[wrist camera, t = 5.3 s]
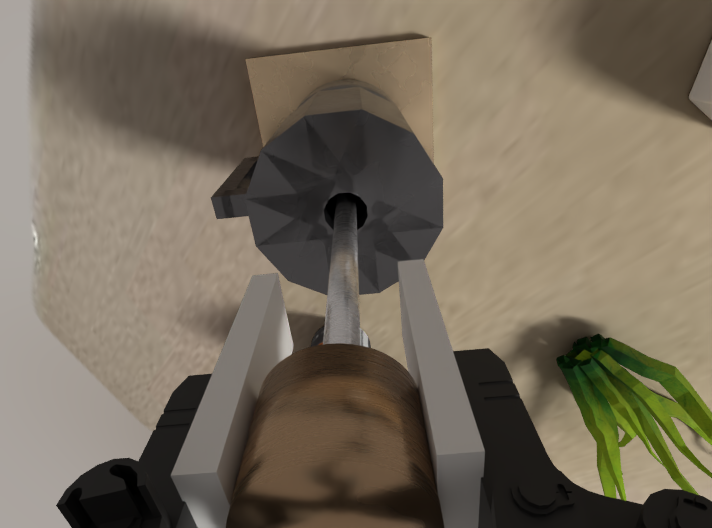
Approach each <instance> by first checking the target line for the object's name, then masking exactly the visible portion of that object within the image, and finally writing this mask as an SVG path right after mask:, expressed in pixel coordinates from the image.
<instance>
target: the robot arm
mask: <svg viewBox="0 0 712 528" xmlns="http://www.w3.org/2000/svg"><path fill="white" fill-rule="evenodd" d="M398 275H399V291H400V306H401V321H402V336H403V342H404V348H405V354H406V360H407V366H408V371H409V373H410V375H411V376H412V377H413V379H414V381H415V383H416V385H417V387H418V392H419V397H420V403H421V408H422V413H423V419H424V424H425V429H426V435H427V440H428V445H429V451H430V456H431V461H432V467H433V472H434V477H435V483H436V488H437V493H438V497H439V500H440V505H441V511H442V516H443V521H444V528H712V501H710V500H708V499H707V498H705V497H703V496H700V495H697V494H694V493H691V492H688V491H685V490H673V489H663V490H661V491H658V492H655V493H653V494H650V496H649V497H648V499H647V500H646V501H645V503H644V504H643V505H642V504H638V503H634V502H629V501H625V500H620V499H616V498H611V497H607V496H603V495H599V494H596V493H593V492H590V491H587V490H585V489H584V488H582V487H580V486H578V485H576V484H574V483H573V482H571V481H570V480H569V479H568V478H567V477H566V476H565V475H564V474H563V473H562V472H561V471H559V470H558V469H557V468H556V467H555V466H554V465H553V463H552V462H551V460H550V458H549V457H548V455H547V453H546V451H545V448H544V446H543V444H542V442H541V440H540V438H539V436H538V433H537V431H536V429H535V427H534V425H533V423H532V421H531V418H530V416H529V414H528V412H527V410H526V408H525V406H524V403H523V401H522V399H520V396H519V393H518V391H517V388H516V386H515V384H513V380H512V378H511V376H510V373H509V371H508V369H507V367H506V365H505V363H504V362H503V361H502V360H501V359H500V358H499V357H498V356H497V355H495V354H494V353H493V352H492V351H491V350H490V349H489V348H487V349H475V350H464V351H453V350H452V347H451V344H450V340H449V337H448V334H447V331H446V328H445V325H444V322H443V319H442V315H441V312H440V309H439V306H438V303H437V300H436V297H435V294H434V290H433V287H432V284H431V281H430V278H429V275H428V272H427V269H426V265H425V262H424V259H419V260H408V261H398ZM292 351H293V341H292V336H291V332H290V327H289V323H288V318H287V313H286V309H285V304H284V300H283V295H282V291H281V286H280V281H279V277H278V273H273V274H263V275H253V276H252V278H251V280H250V283H249V285H248V288H247V290H246V293H245V295H244V298H243V300H242V302H241V305H240V307H239V310H238V312H237V315H236V317H235V320H234V322H233V324H232V327H231V329H230V332H229V334H228V337H227V339H226V342H225V344H224V346H223V349H222V351H221V354H220V356H219V359H218V361H217V364H216V366H215V368H214V371H213V373H212V374H204V375H193V376H188V377H187V378H186V379H185V380H184V381H183V382H182V383H181V384H180V386H179V387H178V388H177V389H176V390H175V391H174V392H173V393H172V395H171V397H170V399H169V401H168V403H167V405H166V407H165V409H164V414H162V415H161V417H160V419H159V421H158V423H157V425H156V430H154V431H153V433H152V435H151V437H150V439H149V441H148V443H147V445H146V447H145V449H144V451H143V453H142V455H141V457H140V459H139V461H135V460H133V459H130V458H123V459H122V458H121V459H113V460H110V461H108V462H104V463H102V464H99V465H97V466H95V467H94V468H92V469H91V470H89V471H87V472H86V473H84V474H83V475H81V476H80V477H79V478H78V479H77V480H76V481H75V482H74V483H73V484H72V485H71V486H70V487H69V488H67V489H66V491H65V492H64V494H63V496H62V497H61V499H60V500H59V502H58V503H57V505H56V506H57V507H58V509H59V510H60V511H61V513H62V514H63V516H64V517H65V519H66V520H67V521H68V523H69V524H70V526H71V527H72V528H226V521H227V517H228V513H229V509H230V505H231V501H232V497H233V493H234V489H235V485H236V482H237V478H238V474H239V470H240V466H241V462H242V458H243V454H244V450H245V447H246V443H247V439H248V435H249V431H250V427H251V423H252V419H253V415H254V412H255V408H256V404H257V400H258V396H259V392H260V389H261V386H262V383H263V381H264V380H265V378H266V376H267V375H268V374H269V372H270V371H271V370H272V369H273V368H274V367H275V366H276V365H277V364H278V363H279V362H280V361H282V360H283V359H285V358H286V357H288V356H290V355H292Z"/></svg>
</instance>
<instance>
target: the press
mask: <svg viewBox="0 0 712 528" xmlns="http://www.w3.org/2000/svg"><path fill="white" fill-rule="evenodd" d="M245 60H246V65H247V70H248V75H249V80H250V84H251V89H252V94H253V99H254V104H255V109H256V114H257V119H258V124H259V129H260V133H261V138H262V143H263V148H262V150H261V152H260V155H259V157H252V158H245V159H244V160H243V161H242V162H241V163H240V164H239V166H238V167H237V168H236V169H235V170H234V171H233V172H232V174H231V175H230V176H229V177H228V178H227V179H226V181H225V182H224V183H223V184H222V185H221V186H220V188H219V189H218V190H217V191H216V192H215V193H214V195H213V196H212V197H211V200H212V204H213V207H214V211H215V214H216V218H217V219H223V218H232V217H242V216H249V219H250V223H251V227H252V231H253V236H254V240H255V244H256V247H257V248H258V249H259V250H260V251H261V252H262V253H263V254H264V255H265V256H266V257H267V258H268V260H269V261H270V262H271V263H272V264H273V265H274V266H275V267H276V268H277V269H278V270H279V271H280V272H281V273H282V275H283V276H284V277H285V278H286V279H287V280H288V281H290V282H293V283H295V284H298V285H301V286H304V287H306V288H309V289H312V290H315V291H317V292H320V293H323V294H325V295H328V284H329V274H330V263H331V252H332V241H333V230H334V219H335V208H336V198H337V193H347V192H350V193H352V194H354V195H356V210H357V245H358V281H359V295H361V294H372V293H380V292H381V291H383V290H385V289H386V288H388V287H390V286H391V285H393V284H395V283H396V282H398V281H399V275H398V261H408V260H419V259H425V258H426V256H427V254H428V253H429V251H430V249H431V248H432V246H433V244H434V242H435V241H436V239H437V237H438V236H439V234H440V232H441V231H442V229H443V178H442V176H441V175H440V173H439V171H438V170H437V168H436V167H435V165H434V146H433V90H432V37H428V38H420V39H411V40H402V41H394V42H385V43H377V44H368V45H360V46H351V47H342V48H334V49H325V50H317V51H308V52H300V53H291V54H282V55H274V56H265V57H257V58H248V59H245Z"/></svg>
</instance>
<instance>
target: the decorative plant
mask: <svg viewBox="0 0 712 528" xmlns="http://www.w3.org/2000/svg"><path fill="white" fill-rule="evenodd" d="M590 338H591V340H592V342H591V341H590V340H589V339H588V338H587V337H585V338H581V339H578V340H577V343H575V342H574V344H573V347H572V348H573V349H572V350H571V351H570V352H569V353H568V354H567V355H566V356H565V355H562V356H560V357H558V358H556V359H557V364H558V366H559V367H560V368H561V370H562V372H563V374H564V376H565V378H566V380H567V382H568V384H569V386H570V389H571V391H572V393H573V396H574V398H575V401H576V403H577V405H578V406H579V408H580V411H581V413H582V416H583V419H584V422H585V425H586V427H587V428H588V430H589V431H590V433H591V434H592V436H593V437H594V439H595V441H596V442H597V467H598V471H599V475H600V479H601V483H602V487H603V491H604V495H605V496H607V497H611V498H616V489H615V485H616V487H617V490H618V492H619V495H620V498H621V500H625V501H626V495H625V489H624V483H623V478H622V475H623V474H622V471H621V463H620V450H619V447H624V446H625V445H626V444H627V443H629V442H630V441H631V440H632V439H633V438H634V437H635V436H636V434H637V435H638V437H639V438H640V439H641V440H642V441H643V443H644V444H645V446H646V448H647V449H648V451H649V453H650V454H651V455H652V456H653V457H654V458H655V459H656V460H657V461H659V462H660V463H661V461H662V463H663V464H662V463H661V464H662V465H663V466H665V468H666V469H667V471H668V473H669V474H670V476H671V478H672V479H673V480H674V481H675V482H676V483H677V484H678V485H679V486H680V487H681V488H682V489H683V490H685V491H688V492H691V493H694V494H697V495H698V493H697V492H696V491H695V490H694V488H693V487H692V486H691V485H690V484H689V482H688V481H687V480H686V479H685V478H684V476H683V475H682V474H681V473H680V471H679V469H678V467H677V465H676V463H675V461H674V459H673V457H672V455H671V453H670V451H669V449H668V447H667V445H666V443H665V440H664V438H663V436H662V434H661V432H660V430H659V428H658V426H657V424H656V423H655V421H654V419H655V420H656V421H657V422H658V424H659V425H660V426H661V427H662V429H663V430H664V431H665V433H666V434H667V435H668V437H669V438H670V439H671V440H672V442H673V443H674V444H675V446H676V447H677V448H678V450H679V451H680V452H681V453H683V454H684V455H685V456H686V457H687V458H688V459H689V460H690V461H691V462H693V463H694V464H695V465H696V466H697V467H698V468H699V469H701V470H702V471H703V472H705V473H706V474H707V475H708V476H710V477H711V478H712V473H711V472H710V471H709V470H708V469H707V468H705V467H704V466H703V465H702V464H701V463H700V461H699V460H698V459H697V458H696V457H695V456H694V455H693V453H692V452H691V451H690V450H689V449H688V448H687V446H686V445H685V443H684V441H683V439H682V437H681V435H680V434H679V432H678V430H677V428H676V426H675V424H674V422H673V421H672V419H671V417H677V418H678V419H680V420H681V421H683V422H684V423H685V424H687V425H688V426H690V427H691V428H692V429H693V430H695V431H696V432H697V433H698V434H699V435H700V436H701V437H703V438H704V439H705V440H706V441H707V442H708V443H710V444H711V445H712V412H711V411H710V410H709V408H708V407H707V406H706V404H705V403H704V402H703V400H702V399H701V398H700V396H699V395H698V394H697V392H696V391H695V390H694V388H693V387H692V386H691V384H690V383H689V382H688V381H687V379H686V378H685V377H684V376H683V375H682V374H681V373H680V372H679V370H678V369H677V368H676V367H674V366H672V365H669V364H666V363H664V362H661V361H658V360H656V359H653V358H650V357H648V356H646V355H644V354H642V353H640V352H639V351H637V350H635V349H633V348H631V347H629V346H627V345H626V344H624V343H621V342H619V341H617V340H615V339H612V338H606V339H605V338H604V337H602V336H601V335H600V334H597V335H595V336H593V337H590ZM618 363H619V364H620V365H622V366H624V367H626V368H628V369H630V370H632V371H633V372H635V373H637V374H639V375H641V376H643V377H646V378H649V379H652V380H655V381H658V382H659V383H660V384H661V385H662V386H663V387H664V388H665V389H666V390H667V391H668V392H669V393H670V395H671V396H672V397H673V398H674V399H675V400H676V401H677V402H678V403H679V404H678V403H676V402H674V401H671V400H669V399H666V398H664V397H662V396H659V395H657V394H655V393H654V392H652V391H650V390H649V389H648V388H647V387H646V386H645V385H643V384H642V383H641V382H640V381H639V380H638V379H636V378H635V377H634V376H632V375H631V374H630V373H629V372H628V371H627V370H626V369H624V368H623V367H621V366H620V365H619V364H618ZM607 400H608V401H607ZM608 402H609V403H610V404H611V405H610V404H609V403H608ZM651 415H652V416H653V417H654V419H653V417H652V416H651ZM617 426H619V427H620V428H621V429H622V430H623V431H624V432H625V435H624V437H623V439H622V441H620V442H618V439H619V434H618V428H617ZM645 435H646V436H645ZM646 437H647V438H648V440H649V441H650V443H651V445H652V446H653V448H654V450H655V451H656V453H657V455H658V456H659V458H660V459H661V461H660V460H659V459H658V458H657V457H656V456H655V454H654V453H653V452H652V450H651V448H650V445H649V443H648V440H647V438H646Z"/></svg>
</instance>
